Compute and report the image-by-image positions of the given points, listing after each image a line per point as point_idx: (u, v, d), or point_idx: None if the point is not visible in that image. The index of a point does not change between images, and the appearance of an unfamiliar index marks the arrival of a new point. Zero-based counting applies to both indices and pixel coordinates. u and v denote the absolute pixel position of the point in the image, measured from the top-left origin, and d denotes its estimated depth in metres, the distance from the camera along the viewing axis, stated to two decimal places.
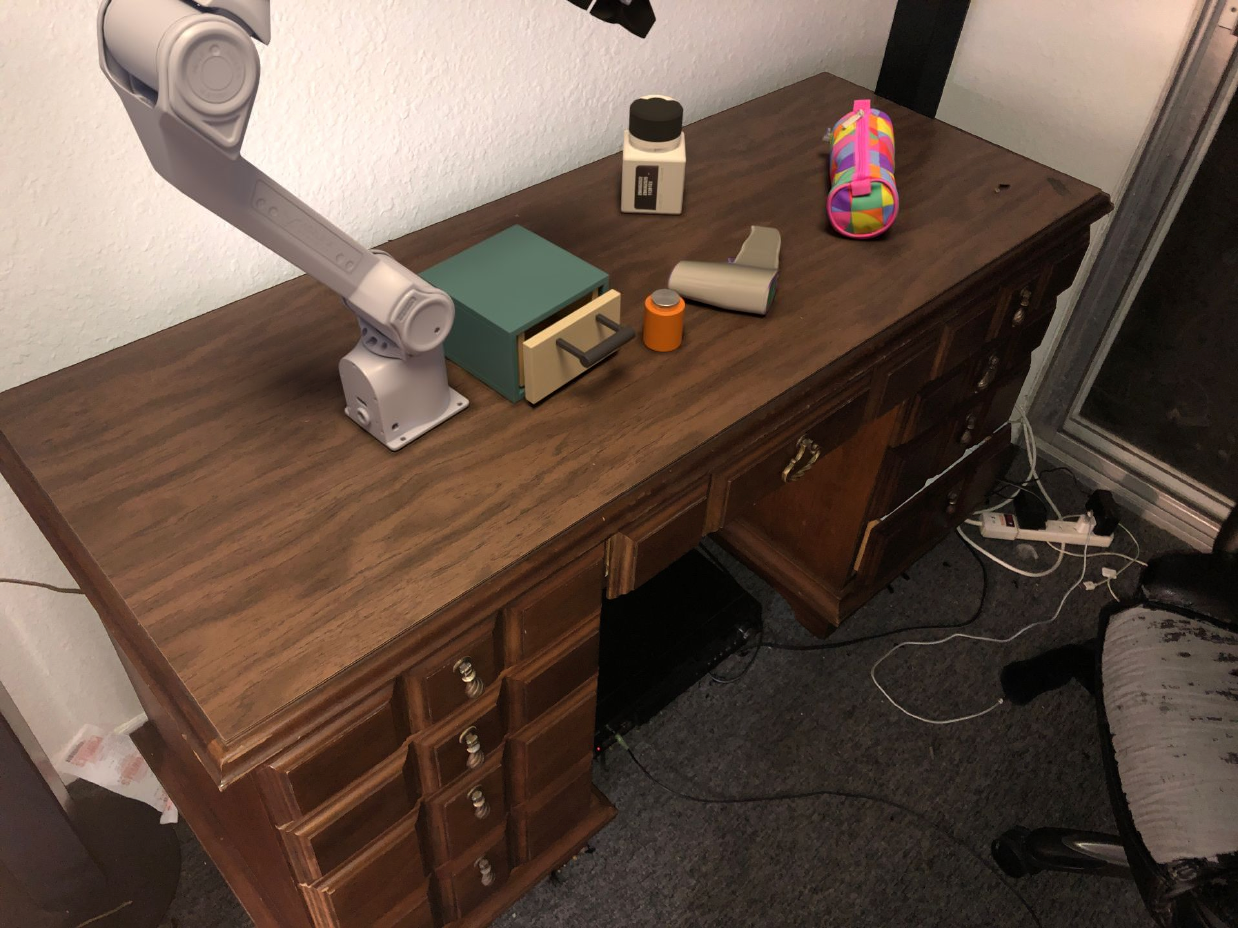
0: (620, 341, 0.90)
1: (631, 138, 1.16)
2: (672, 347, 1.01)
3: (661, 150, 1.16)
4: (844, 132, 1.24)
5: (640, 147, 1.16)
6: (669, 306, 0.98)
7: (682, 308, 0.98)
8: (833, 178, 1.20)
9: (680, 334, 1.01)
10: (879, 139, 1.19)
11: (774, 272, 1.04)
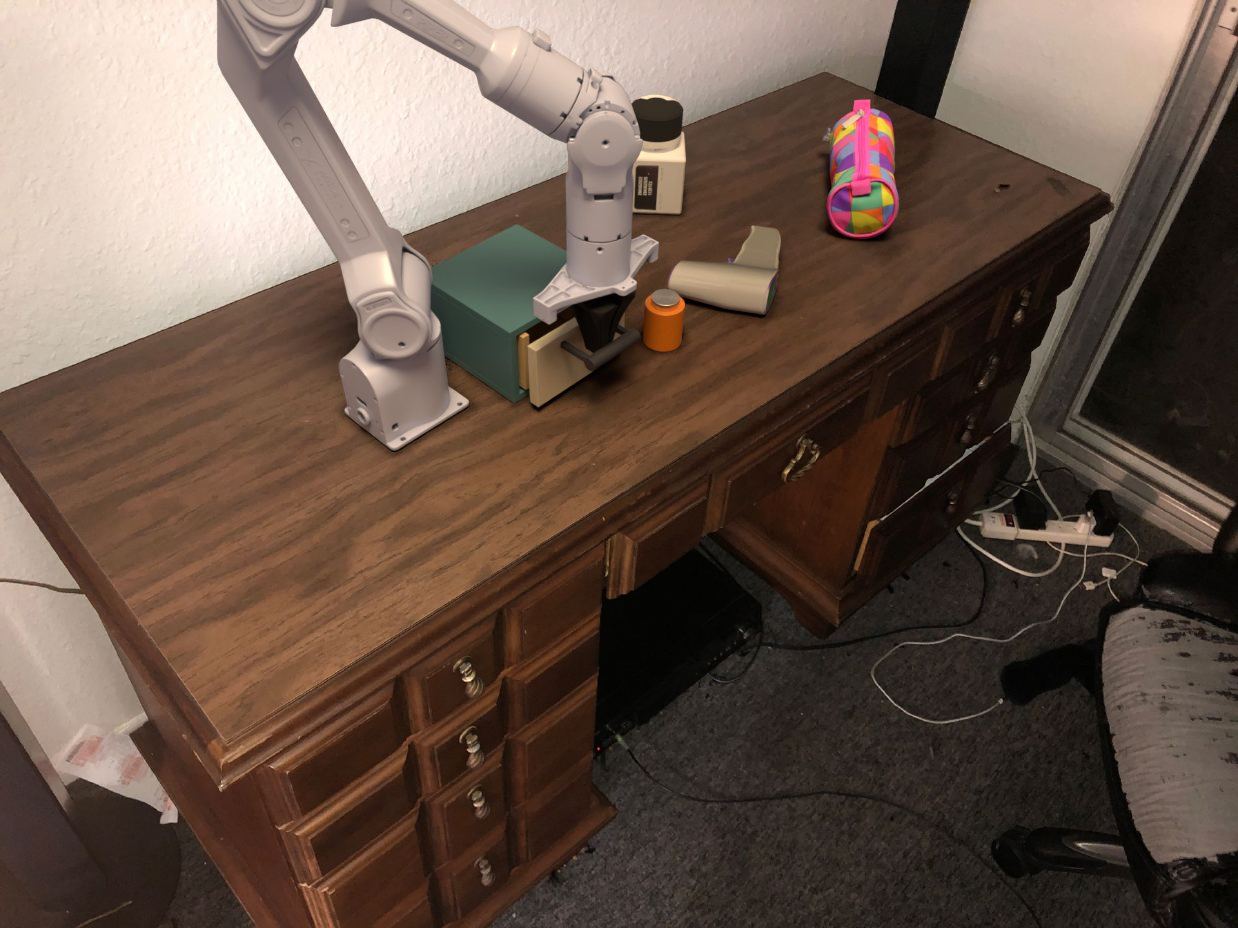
0: (625, 344, 0.90)
1: None
2: (672, 347, 1.01)
3: (661, 150, 1.16)
4: (844, 132, 1.24)
5: None
6: (669, 306, 0.98)
7: (682, 308, 0.98)
8: (833, 178, 1.20)
9: (680, 334, 1.01)
10: (879, 139, 1.19)
11: (774, 272, 1.04)
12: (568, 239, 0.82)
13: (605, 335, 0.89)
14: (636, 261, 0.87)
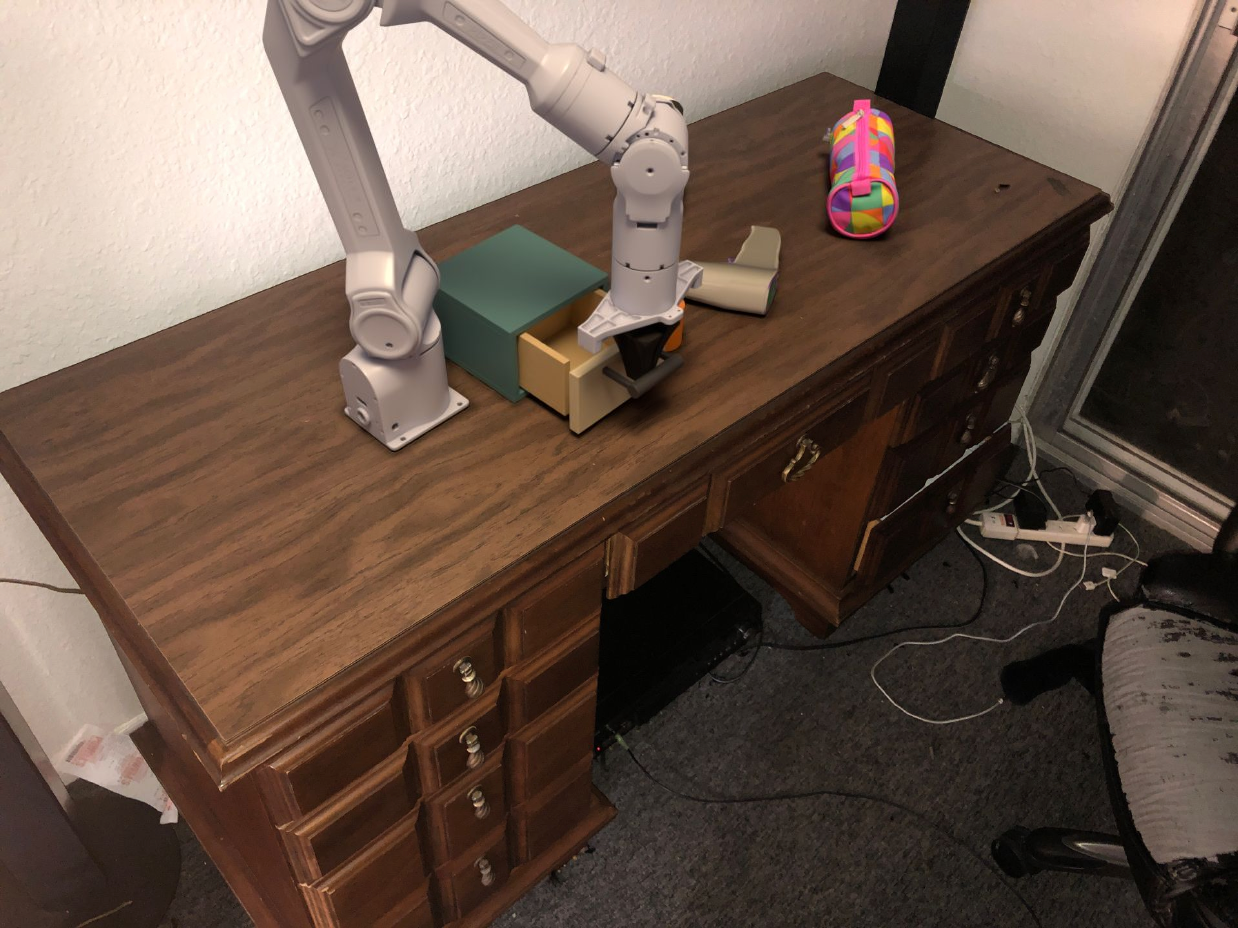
0: (669, 370, 0.87)
1: None
2: (672, 347, 1.01)
3: None
4: (844, 132, 1.24)
5: None
6: None
7: (682, 308, 0.98)
8: (833, 178, 1.20)
9: (680, 334, 1.01)
10: (879, 139, 1.19)
11: (774, 272, 1.04)
12: (614, 267, 0.80)
13: (648, 363, 0.86)
14: (681, 288, 0.85)
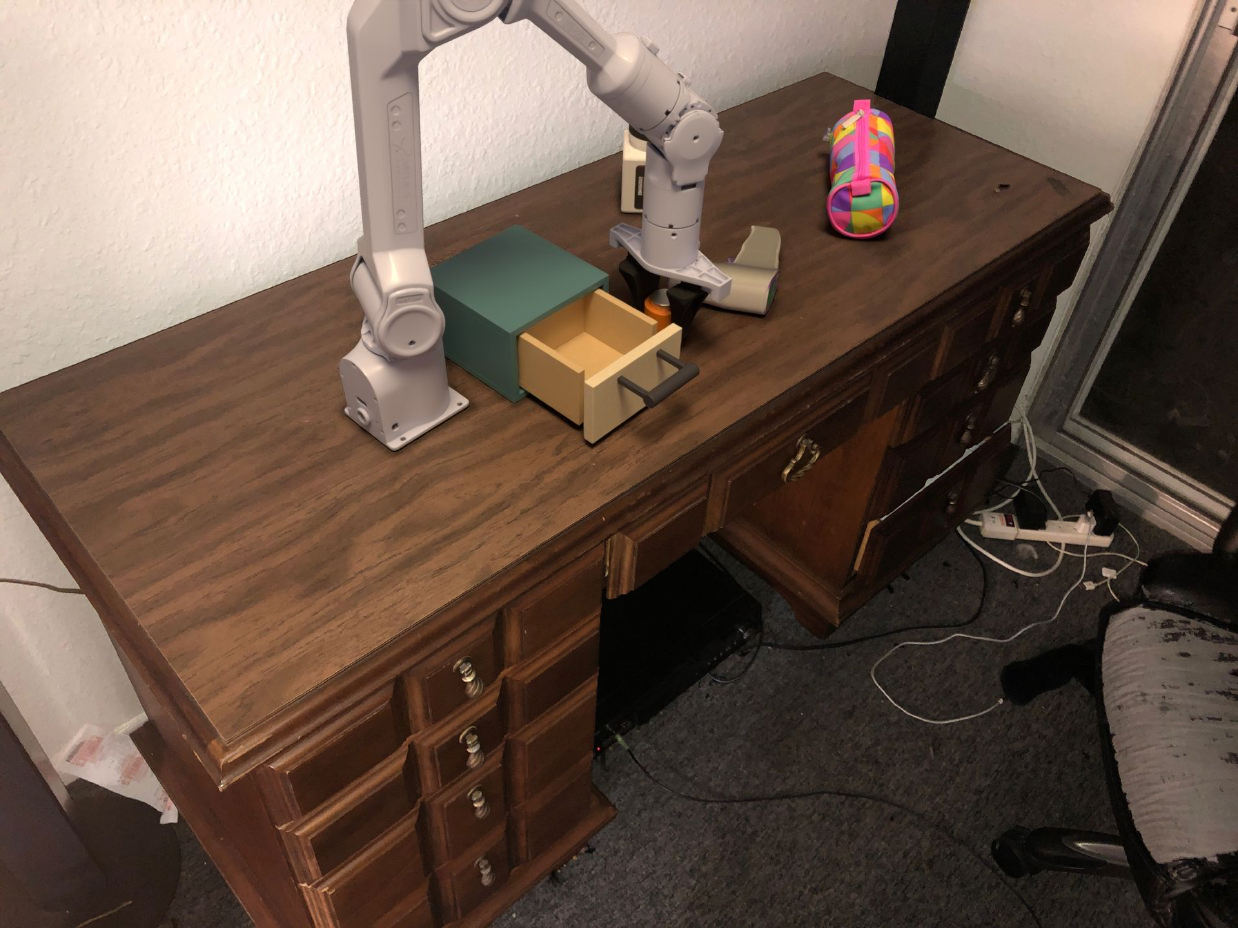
0: (684, 380, 0.87)
1: (631, 138, 1.16)
2: None
3: None
4: (844, 132, 1.24)
5: (640, 147, 1.16)
6: (669, 306, 0.98)
7: None
8: (833, 178, 1.20)
9: None
10: (879, 139, 1.19)
11: (774, 272, 1.04)
12: (683, 235, 0.90)
13: None
14: None
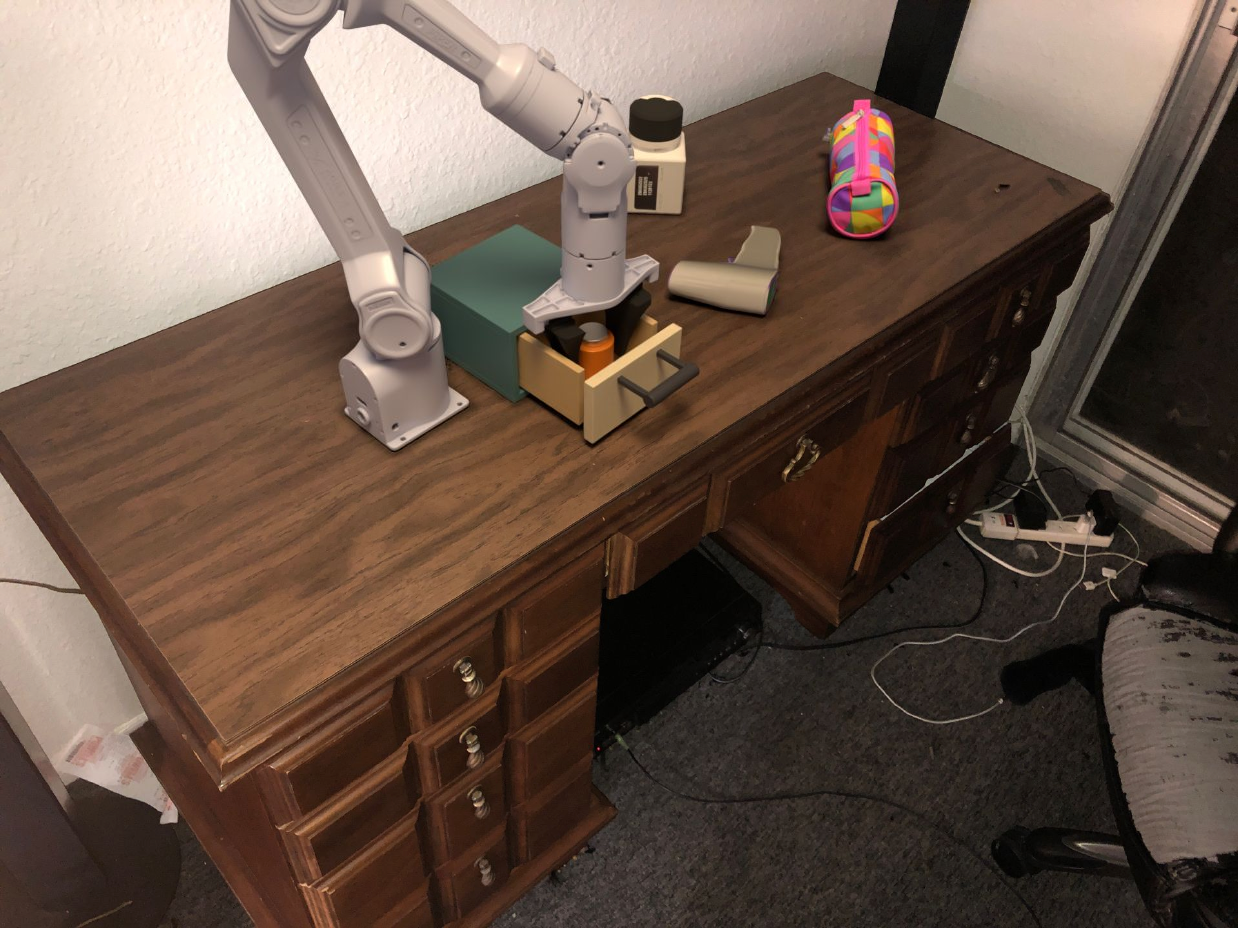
0: (684, 380, 0.87)
1: (631, 138, 1.16)
2: None
3: (661, 150, 1.16)
4: (844, 132, 1.24)
5: (640, 147, 1.16)
6: (607, 332, 0.91)
7: None
8: (833, 178, 1.20)
9: None
10: (879, 139, 1.19)
11: (774, 272, 1.04)
12: None
13: None
14: (551, 297, 0.86)
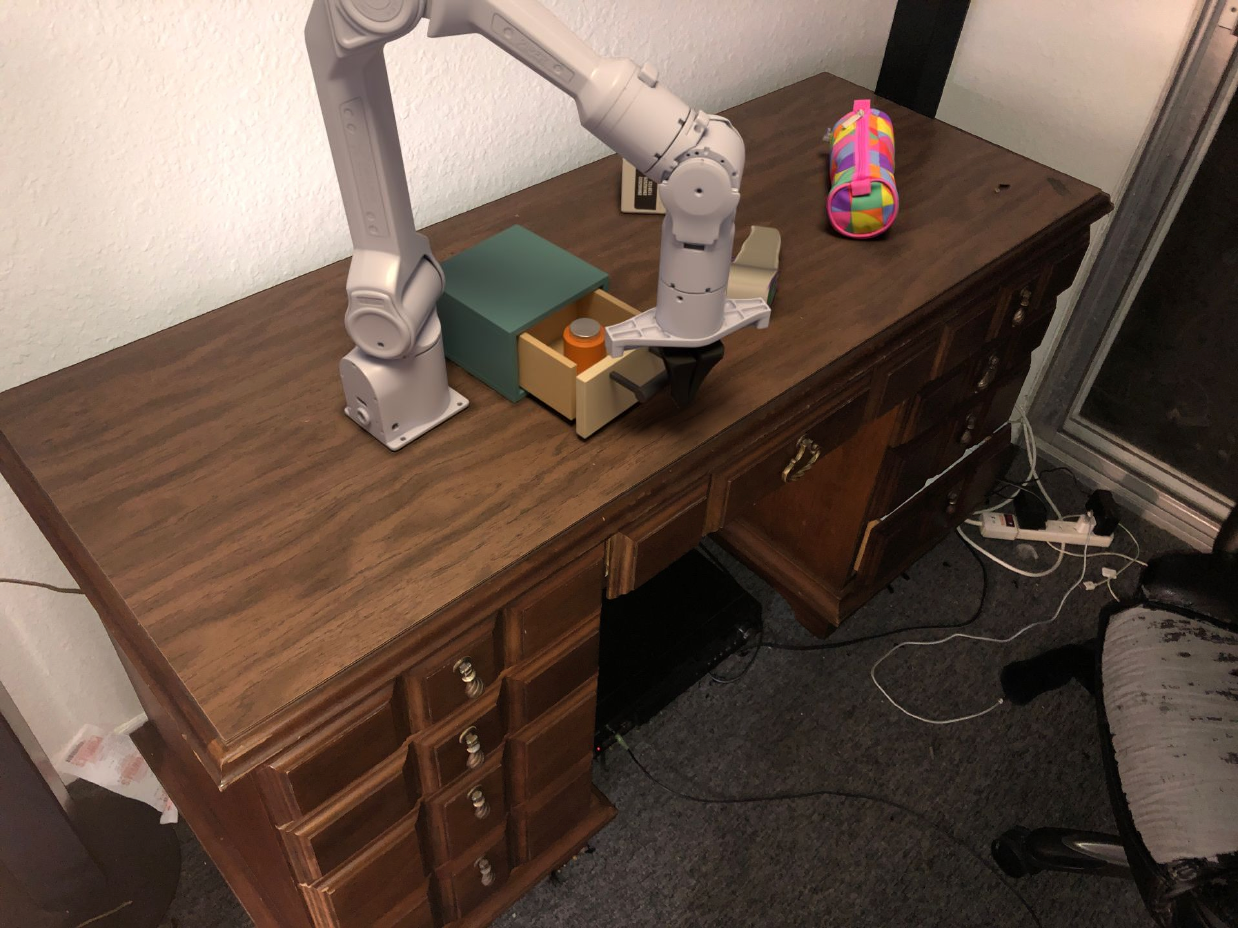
0: None
1: None
2: None
3: None
4: (844, 132, 1.24)
5: None
6: (600, 328, 0.91)
7: None
8: (833, 178, 1.20)
9: None
10: (879, 139, 1.19)
11: (774, 272, 1.04)
12: (727, 285, 0.77)
13: None
14: (641, 323, 0.80)
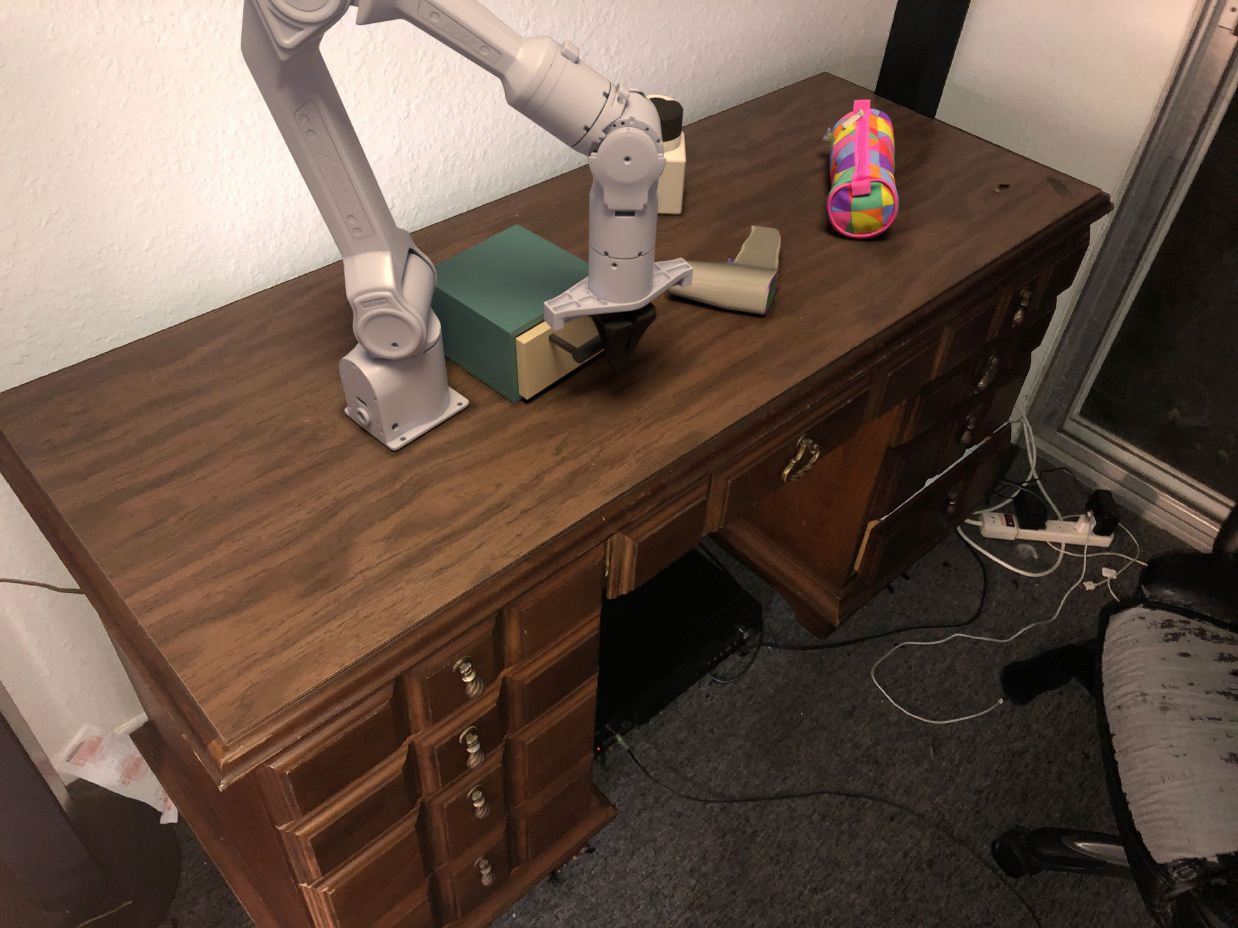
0: None
1: None
2: None
3: None
4: (844, 132, 1.24)
5: None
6: None
7: None
8: (833, 178, 1.20)
9: None
10: (879, 139, 1.19)
11: (774, 272, 1.04)
12: None
13: None
14: (576, 294, 0.84)
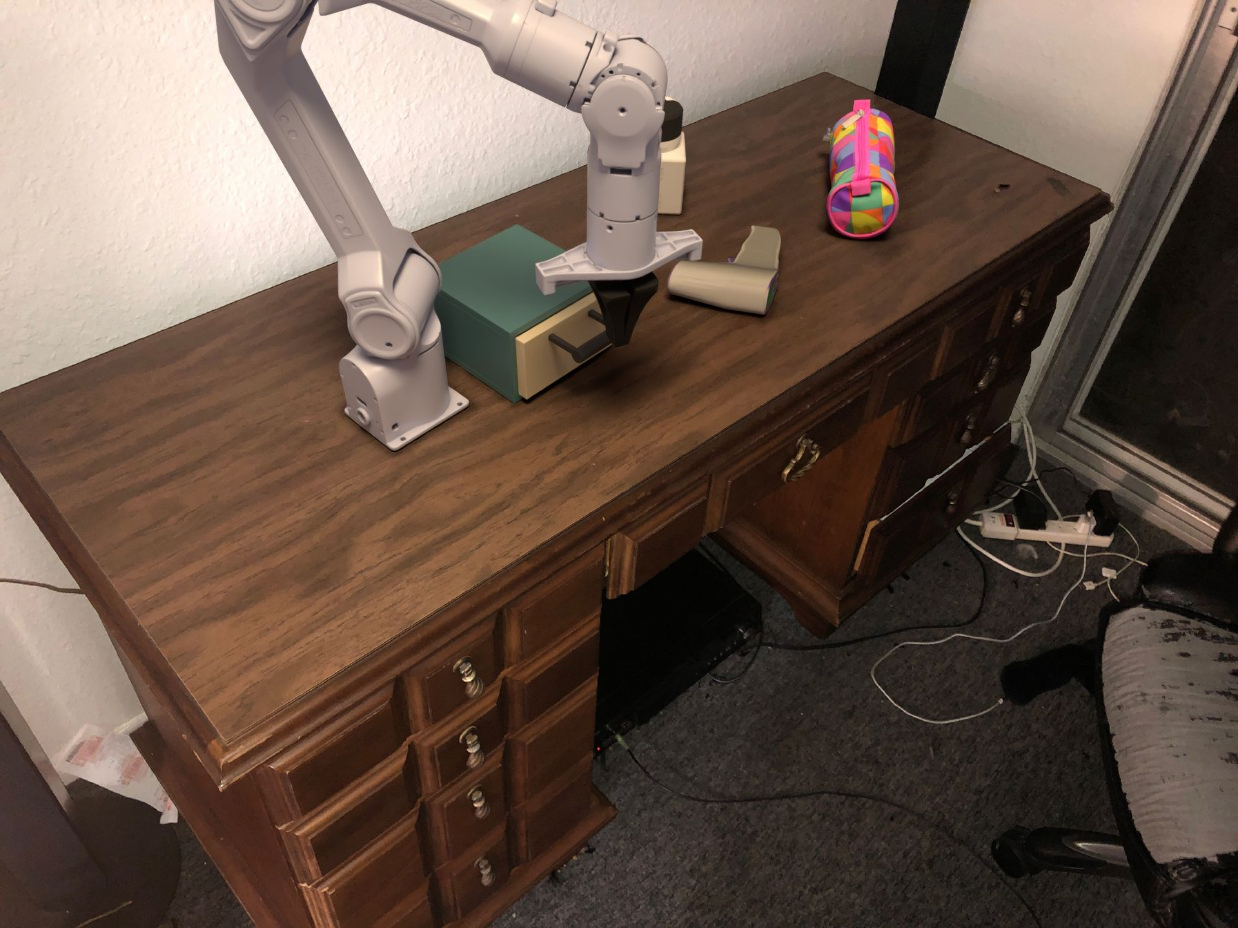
0: None
1: None
2: None
3: (661, 150, 1.16)
4: (844, 132, 1.24)
5: None
6: None
7: None
8: (833, 178, 1.20)
9: None
10: (879, 139, 1.19)
11: (774, 272, 1.04)
12: (657, 214, 0.76)
13: None
14: (572, 259, 0.79)
